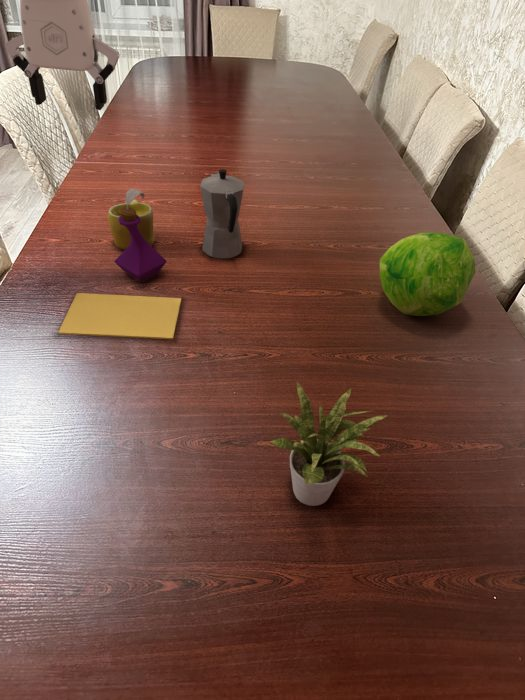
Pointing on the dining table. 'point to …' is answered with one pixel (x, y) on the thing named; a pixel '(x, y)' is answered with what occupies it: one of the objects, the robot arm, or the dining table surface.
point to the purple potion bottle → (137, 246)
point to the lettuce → (427, 273)
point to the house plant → (323, 448)
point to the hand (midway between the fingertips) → (70, 105)
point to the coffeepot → (222, 215)
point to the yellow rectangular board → (122, 316)
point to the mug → (145, 225)
